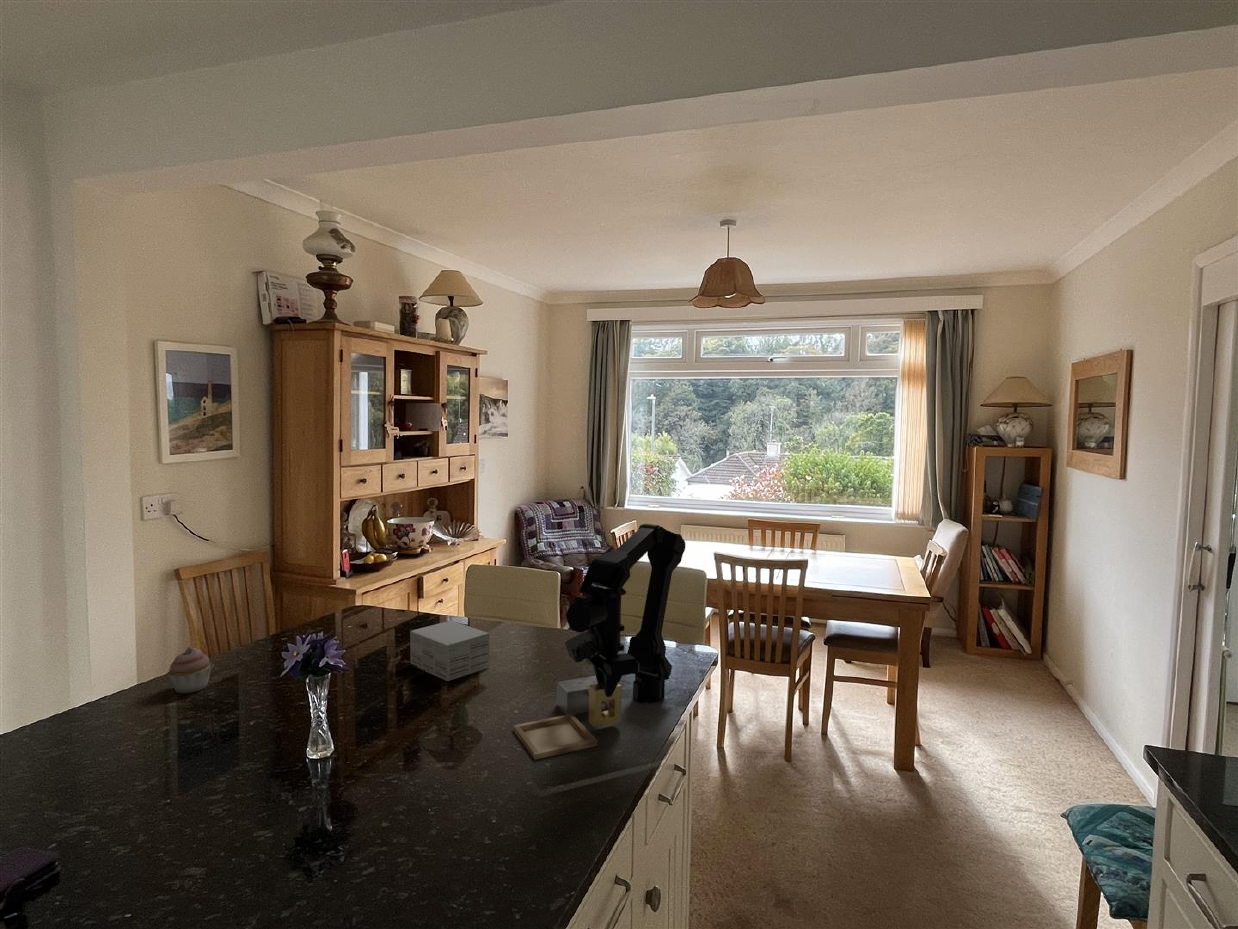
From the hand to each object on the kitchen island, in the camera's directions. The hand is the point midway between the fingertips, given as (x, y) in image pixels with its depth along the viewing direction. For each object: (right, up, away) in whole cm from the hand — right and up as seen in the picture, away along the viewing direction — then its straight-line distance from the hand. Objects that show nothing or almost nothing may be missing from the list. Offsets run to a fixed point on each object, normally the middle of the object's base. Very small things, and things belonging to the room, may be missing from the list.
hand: (605, 693), depth 137 cm
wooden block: (0, -6, 0) cm, 6 cm away
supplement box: (-41, -5, +35) cm, 54 cm away
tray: (-10, -8, -4) cm, 14 cm away
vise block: (-4, -8, +8) cm, 11 cm away
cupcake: (-97, -5, +18) cm, 99 cm away
